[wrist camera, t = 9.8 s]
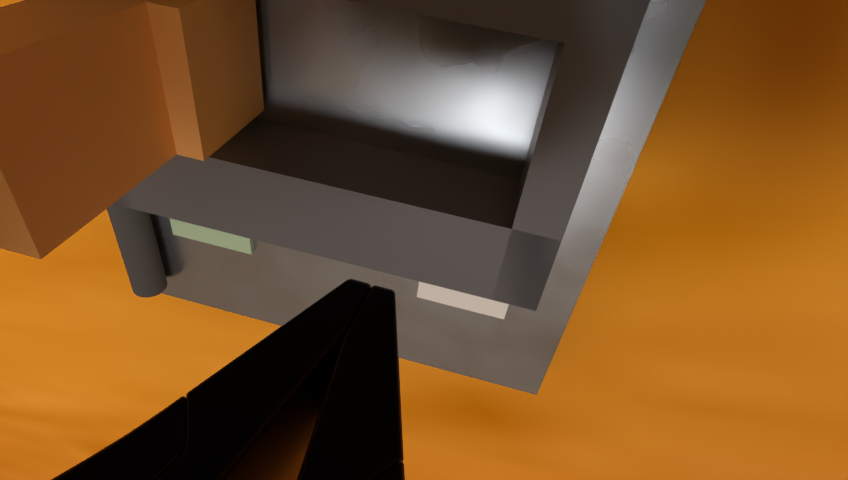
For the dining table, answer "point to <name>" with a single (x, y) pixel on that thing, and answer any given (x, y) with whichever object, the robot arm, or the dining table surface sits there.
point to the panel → (436, 139)
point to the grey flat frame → (139, 250)
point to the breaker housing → (419, 174)
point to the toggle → (113, 102)
